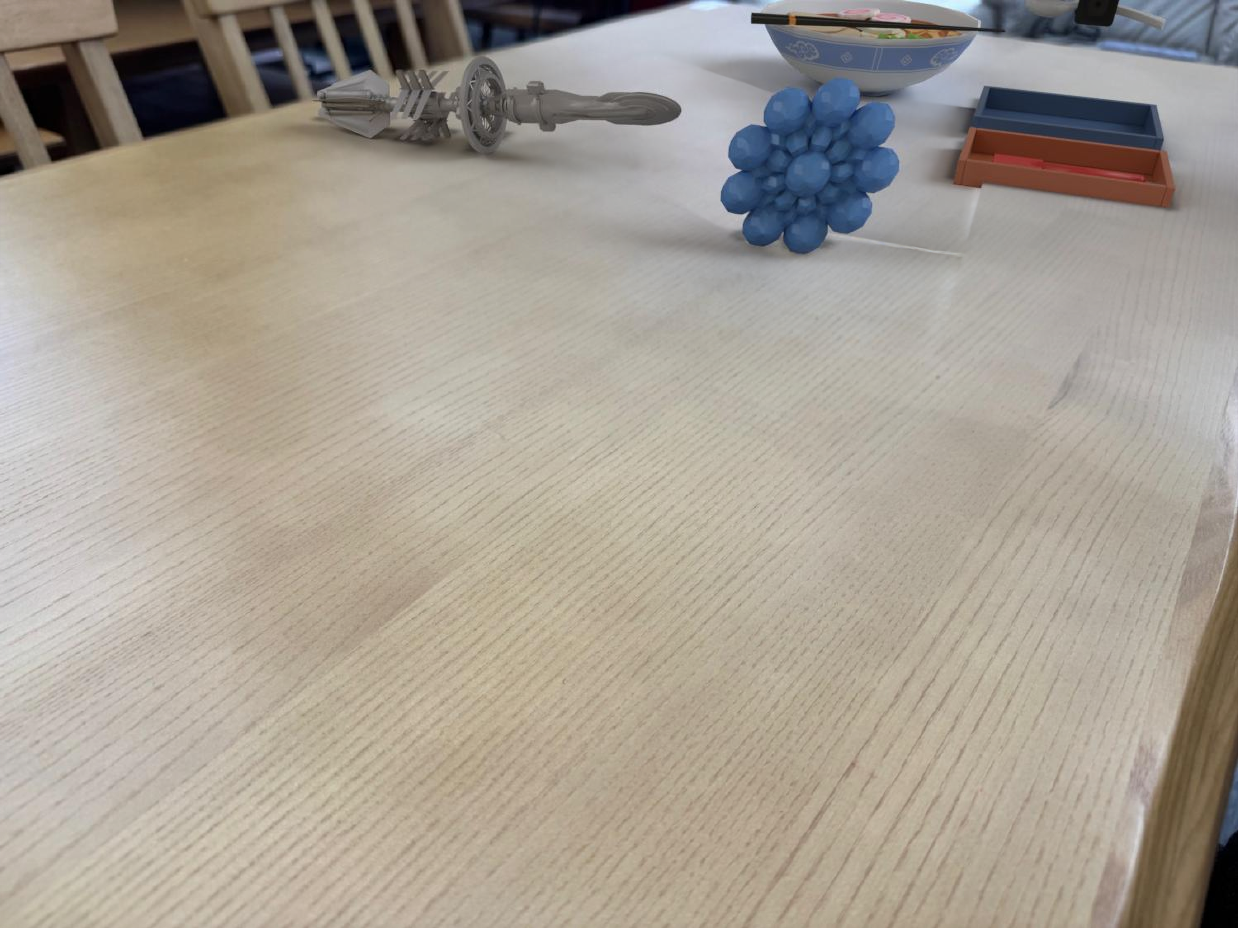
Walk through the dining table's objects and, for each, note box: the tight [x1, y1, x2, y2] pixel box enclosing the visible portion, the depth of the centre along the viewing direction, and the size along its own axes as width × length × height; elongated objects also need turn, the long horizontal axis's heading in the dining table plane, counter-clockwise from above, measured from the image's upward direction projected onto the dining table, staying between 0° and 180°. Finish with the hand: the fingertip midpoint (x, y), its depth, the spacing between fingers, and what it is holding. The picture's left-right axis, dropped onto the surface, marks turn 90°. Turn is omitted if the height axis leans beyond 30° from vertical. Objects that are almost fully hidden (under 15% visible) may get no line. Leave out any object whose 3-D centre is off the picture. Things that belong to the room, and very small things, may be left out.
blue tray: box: [970, 85, 1165, 151], centre depth 95 cm, size 16×12×2 cm
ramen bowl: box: [750, 0, 1006, 97], centre depth 106 cm, size 25×23×8 cm
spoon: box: [1024, 0, 1166, 30], centre depth 89 cm, size 3×12×2 cm, turn 65°
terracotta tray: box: [952, 126, 1176, 208], centre depth 83 cm, size 16×10×2 cm, turn 69°
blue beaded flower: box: [720, 78, 900, 255], centre depth 68 cm, size 12×7×12 cm, turn 80°
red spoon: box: [992, 154, 1147, 183], centre depth 83 cm, size 12×3×1 cm, turn 69°
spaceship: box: [311, 55, 682, 155], centre depth 85 cm, size 8×35×8 cm
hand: (1092, 19), depth 89 cm, fingers closed on spoon, 2 cm apart
